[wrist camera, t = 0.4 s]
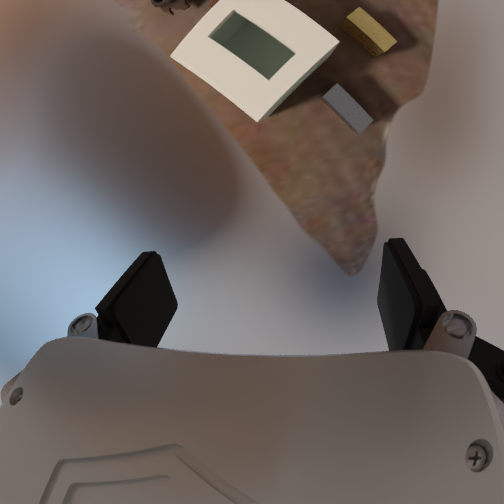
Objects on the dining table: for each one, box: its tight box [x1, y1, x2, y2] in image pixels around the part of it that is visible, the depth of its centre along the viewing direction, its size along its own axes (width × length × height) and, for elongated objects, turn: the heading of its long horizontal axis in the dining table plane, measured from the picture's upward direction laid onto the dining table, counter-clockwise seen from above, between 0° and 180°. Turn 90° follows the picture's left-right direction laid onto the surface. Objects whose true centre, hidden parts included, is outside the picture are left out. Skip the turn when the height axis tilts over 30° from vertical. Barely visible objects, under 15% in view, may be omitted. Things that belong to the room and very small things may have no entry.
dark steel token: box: [320, 83, 374, 134], centre depth 29 cm, size 2×6×5 cm, turn 49°
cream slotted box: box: [170, 0, 340, 122], centre depth 25 cm, size 12×12×10 cm
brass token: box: [341, 7, 397, 58], centre depth 23 cm, size 2×6×5 cm, turn 49°
